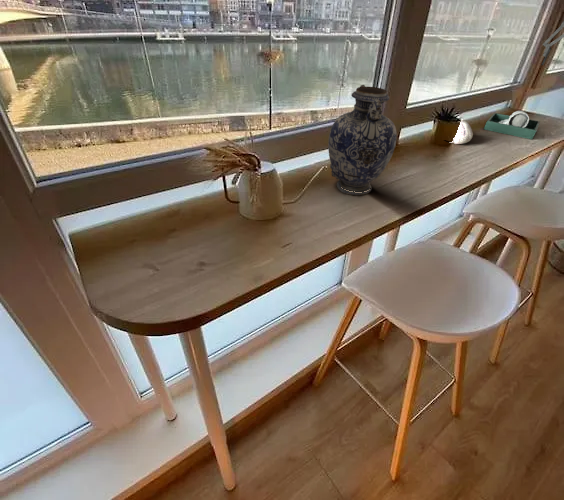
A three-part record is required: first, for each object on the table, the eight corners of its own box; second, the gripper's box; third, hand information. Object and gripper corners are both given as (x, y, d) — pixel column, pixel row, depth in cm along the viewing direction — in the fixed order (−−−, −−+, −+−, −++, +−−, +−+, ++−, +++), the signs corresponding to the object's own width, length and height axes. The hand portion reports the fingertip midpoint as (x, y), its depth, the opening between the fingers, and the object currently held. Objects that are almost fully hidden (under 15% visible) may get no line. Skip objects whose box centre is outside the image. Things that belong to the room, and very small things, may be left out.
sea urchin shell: (473, 139, 139) (481, 120, 134) (465, 148, 130) (474, 128, 125) (441, 132, 145) (448, 113, 140) (432, 140, 136) (439, 120, 131)
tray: (536, 129, 153) (540, 121, 150) (532, 139, 141) (536, 130, 139) (490, 120, 162) (494, 112, 159) (483, 129, 150) (487, 120, 148)
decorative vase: (319, 171, 109) (330, 79, 91) (374, 173, 109) (395, 81, 92) (327, 204, 92) (342, 99, 75) (392, 205, 93) (421, 101, 75)
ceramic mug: (523, 127, 152) (531, 109, 147) (524, 131, 146) (532, 114, 142) (497, 123, 156) (504, 106, 151) (497, 128, 150) (505, 110, 146)
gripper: (553, 5, 134) (527, 64, 148) (630, 9, 123) (594, 72, 136) (554, 5, 139) (529, 62, 152) (628, 9, 128) (594, 69, 141)
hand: (560, 67), depth 144 cm, fingers open, 13 cm apart
